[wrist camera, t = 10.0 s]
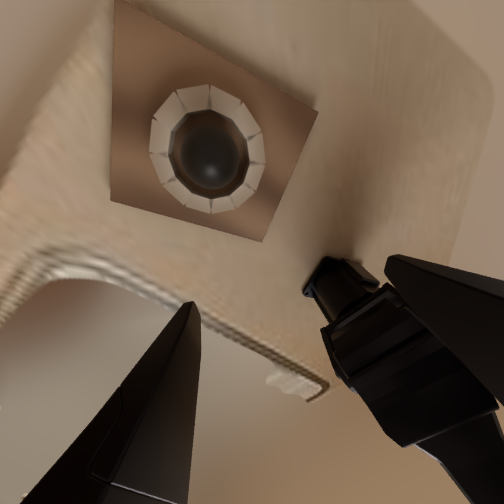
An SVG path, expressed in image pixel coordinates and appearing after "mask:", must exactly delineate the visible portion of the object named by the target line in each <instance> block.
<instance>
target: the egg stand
mask: <svg viewBox="0 0 504 504" xmlns="http://www.w3.org/2000/svg"><path fill="white" fill-rule="evenodd" d="M318 113H319V112H318V111H316V110H314V109H312V108H311V107H309V106H307V105H305V104H304V103H302V102H300V101H298V100H297V99H295V98H293V97H291V96H290V95H288V94H286V93H284V92H282V91H281V90H279V89H277V88H275V87H274V86H272V85H270V84H268V83H267V82H265V81H263V80H261V79H260V78H258V77H256V76H254V75H253V74H251V73H249V72H247V71H246V70H244V69H242V68H240V67H239V66H237V65H235V64H233V63H231V62H230V61H228V60H226V59H224V58H223V57H221V56H219V55H217V54H216V53H214V52H212V51H210V50H209V49H207V48H205V47H203V46H202V45H200V44H198V43H196V42H195V41H193V40H191V39H189V38H187V37H186V36H184V35H182V34H180V33H179V32H177V31H175V30H173V29H172V28H170V27H168V26H166V25H165V24H163V23H161V22H159V21H158V20H156V19H154V18H152V17H151V16H149V15H147V14H145V13H143V12H142V11H140V10H138V9H136V8H135V7H133V6H131V5H129V4H128V3H126V2H124V1H122V0H114V47H113V97H112V146H111V196H110V201H114V202H117V203H121V204H125V205H128V206H132V207H135V208H139V209H143V210H146V211H150V212H154V213H157V214H161V215H164V216H168V217H172V218H175V219H179V220H183V221H186V222H190V223H194V224H197V225H201V226H204V227H208V228H212V229H215V230H219V231H223V232H226V233H230V234H233V235H237V236H241V237H244V238H248V239H252V240H255V241H259V242H262V241H263V239H264V236H265V234H266V232H267V229H268V227H269V225H270V223H271V220H272V218H273V216H274V213H275V211H276V209H277V207H278V204H279V202H280V200H281V197H282V195H283V193H284V191H285V188H286V186H287V184H288V181H289V179H290V177H291V175H292V172H293V170H294V168H295V165H296V163H297V161H298V158H299V156H300V154H301V152H302V149H303V147H304V145H305V142H306V140H307V138H308V136H309V133H310V131H311V129H312V126H313V124H314V122H315V120H316V117H317V115H318ZM200 125H214V126H217V127H219V128H221V129H223V130H224V131H226V132H227V133H228V134H229V135H230V136H231V137H232V139H233V140H234V142H235V144H236V146H237V149H238V153H239V167H238V171H237V174H236V176H235V177H234V179H233V180H232V181H231V182H230V183H229V184H228V185H226V186H224V187H222V188H219V189H206V188H203V187H201V186H199V185H197V184H195V183H194V182H193V181H192V180H191V179H190V178H189V177H188V176H187V174H186V173H185V171H184V169H183V166H182V163H181V157H180V150H181V145H182V142H183V139H184V138H185V136H186V135H187V133H188V132H189V131H191V130H192V129H193V128H195V127H197V126H200Z"/></svg>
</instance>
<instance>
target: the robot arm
mask: <svg viewBox="0 0 504 504" xmlns="http://www.w3.org/2000/svg"><path fill="white" fill-rule="evenodd" d="M327 260H328V261H327ZM384 273H385V275H386V277H387V278H388V279H389V280H390V282H391V283H392V284H393V286H394V287H395V288H394V287H393V286H392V285H390V284H389V283H388V282H386V283H385V284H384V285H382V286H383V287H381V288H379V287H378V286H379V285H380V282H379V281H378V280H377V279H376V278H375V277H374V276H372V275H371V274H370V273H369V272H368V271H367V270H366V269H365V268H364V267H363V266H361V265H360V264H359V263H357V262H353V261H350V260H347V259H341V260H340V259H336V258H333V257H329V256H326V257H324V258H323V260H322V261H321V263H320V265H319V266H318V268H317V269H316V271H315V272H314V274H313V276H312V277H311V279H310V280H309V282H308V284H307V285H306V287H305V288H304V290H303V292H302V293H303V295H304V296H306V297H311V298H314V300H315V301H316V303H317V304H318V306H319V308H320V309H321V311H322V313H323V314H324V316H325V318H326V319H327V321H328V323H329V324H328V325H327V326H326V327H323V328H321V329H320V331H321V334H322V339H323V341H324V344H325V347H326V350H327V353H328V355H329V358H330V361H331V364H332V367H333V369H334V371H335V374H336V376H337V377H338V378H339V379H342V380H343V382H344V383H345V384H346V385H347V386H348V388H349V389H350V390H352V391H353V392H354V393H356V394H359V395H360V396H361V398H362V399H363V401H364V402H365V403H366V405H367V406H368V408H369V409H370V411H371V412H372V414H373V415H374V417H375V418H376V420H377V421H378V423H379V425H380V426H381V427H382V429H383V431H384V432H385V434H386V435H388V436H389V437H390V438H391V439H392V440H393V441H395V442H396V443H397V444H398V445H400V446H401V447H402V448H406V447H409V446H411V445H414V446H416V447H417V448H419V449H420V450H422V451H423V452H425V453H426V454H428V455H429V456H431V457H432V458H434V459H435V460H437V461H438V462H439V463H440V464H441V466H442V467H443V468H444V469H445V471H446V472H447V473H448V474H449V476H450V477H451V478H452V480H453V481H454V482H455V484H456V485H457V486H458V487H459V489H460V490H461V491H462V493H463V494H464V495H465V497H466V498H467V499H468V500H469V502H470V503H471V504H504V435H503V432H502V429H501V427H500V424H499V421H498V419H497V416H496V413H495V411H496V410H498V409H499V405H498V403H497V402H496V399H497V400H498V401H499V402H500V403H501V404H502V405H503V406H504V281H502V280H499V279H495V278H491V277H487V276H483V275H479V274H475V273H471V272H467V271H463V270H459V269H455V268H451V267H448V266H444V265H440V264H436V263H432V262H428V261H424V260H420V259H416V258H412V257H408V256H404V255H400V254H396V255H392V256H389V257H388V258H387V261H386V265H385V269H384ZM200 361H201V317H200V313H199V311H198V308H197V306H196V304H195V302H194V301H190V302H186V303H184V304H183V305H182V306H181V307H180V308H179V310H178V311H177V312H176V314H175V315H174V316H173V318H172V319H171V320H170V321H169V323H168V324H167V325H166V326H165V328H164V329H163V330H162V332H161V333H160V334H159V336H158V337H157V338H156V340H155V341H154V342H153V343H152V344H151V346H150V347H149V348H148V350H147V351H146V352H145V353H144V355H143V356H142V358H141V359H140V360H139V361H138V363H137V364H136V365H135V366H134V368H133V369H132V370H131V372H130V373H129V374H128V375H127V377H126V378H125V379H124V381H123V382H122V383H121V385H120V387H118V388H117V389H116V391H115V392H114V393H113V394H112V396H111V397H110V398H109V400H108V401H107V402H106V403H105V405H104V406H103V407H102V409H101V410H100V411H99V412H98V413H97V415H96V416H95V417H94V418H93V420H92V421H91V422H90V423H89V424H88V426H87V427H86V428H85V429H84V430H83V431H82V433H81V434H80V435H79V436H78V437H77V438H76V440H75V441H74V442H73V443H72V444H71V445H70V447H69V448H68V449H67V450H66V451H65V452H64V453H63V455H62V456H61V457H60V458H59V459H58V460H57V462H56V463H55V464H54V465H53V466H52V467H51V468H50V470H49V471H48V472H47V473H46V474H45V475H44V476H43V478H42V479H41V480H40V481H39V483H38V484H37V485H36V486H35V487H34V488H33V489H32V490H31V491H30V492H29V494H28V495H27V496H26V497H25V498H24V499H23V501H22V502H21V503H20V504H187V501H188V491H189V480H190V469H191V458H192V447H193V436H194V426H195V415H196V404H197V394H198V383H199V371H200ZM495 398H496V399H495Z"/></svg>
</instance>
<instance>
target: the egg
mask: <svg viewBox="0 0 504 504" xmlns="http://www.w3.org/2000/svg"><path fill="white" fill-rule="evenodd" d="M180 157H181V163H182V166H183V169H184V171H185V173H186V174H187V176H188V177H189V178H190V179H191V180H192V181H193V182H194V183H195V184H197V185H199V186H201V187H203V188H206V189H219V188H222V187H224V186H226V185H228V184H229V183H230V182H231V181H232V180H233V179H234V177H235V176H236V174H237V171H238V167H239V153H238V149H237V146H236V144H235V142H234V140H233V139H232V137H231V136H230V135H229V134H228V133H227V132H226V131H224V130H223V129H221V128H219V127H217V126H214V125H200V126H197V127H195V128H193V129H192V130H191V131H189V132H188V133H187V135H186V136H185V138H184V139H183V142H182V145H181V150H180Z"/></svg>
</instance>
